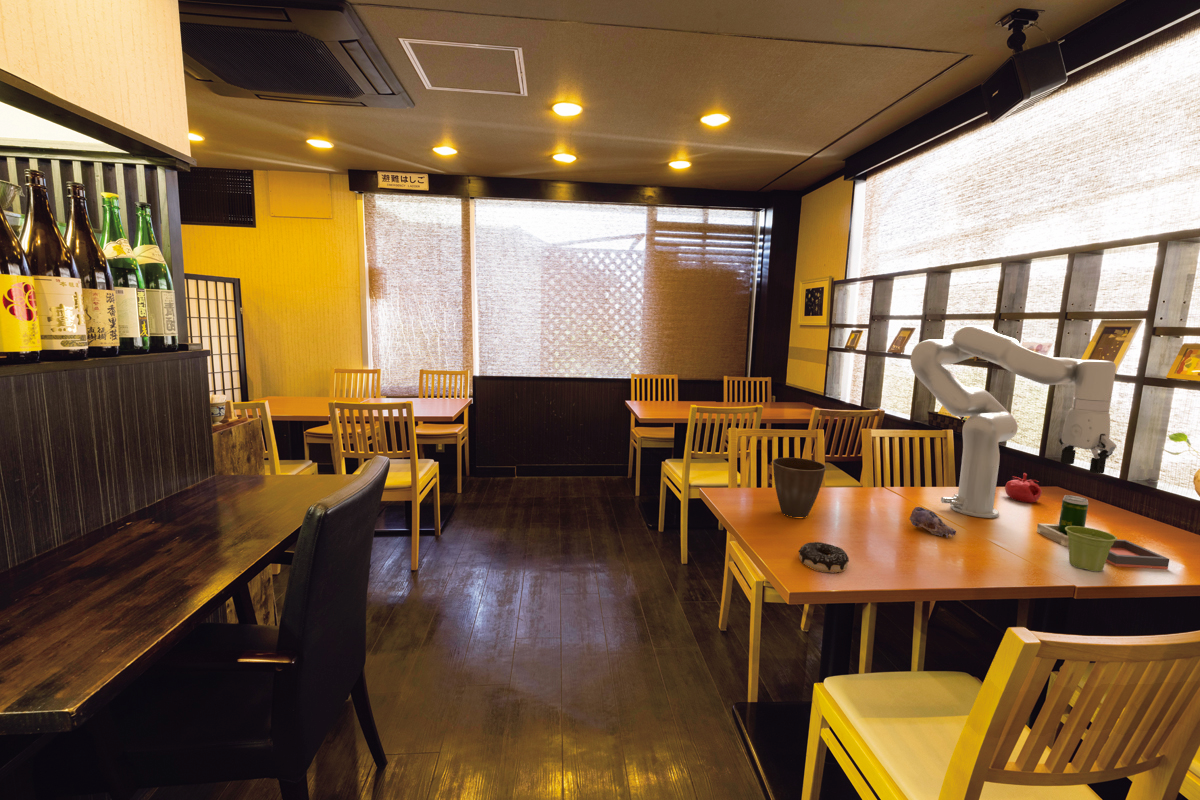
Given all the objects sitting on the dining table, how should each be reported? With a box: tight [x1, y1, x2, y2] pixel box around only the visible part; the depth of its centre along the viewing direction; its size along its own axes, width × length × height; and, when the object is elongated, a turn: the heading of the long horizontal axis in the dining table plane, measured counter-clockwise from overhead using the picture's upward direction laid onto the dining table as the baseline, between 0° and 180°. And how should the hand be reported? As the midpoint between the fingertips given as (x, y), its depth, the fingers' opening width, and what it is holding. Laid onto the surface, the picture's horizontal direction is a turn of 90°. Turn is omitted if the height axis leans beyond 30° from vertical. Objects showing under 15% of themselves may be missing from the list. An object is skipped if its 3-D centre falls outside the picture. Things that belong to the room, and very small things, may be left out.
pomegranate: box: [1004, 472, 1043, 504], centre depth 183 cm, size 10×10×9 cm
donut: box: [798, 541, 850, 574], centre depth 128 cm, size 11×12×4 cm
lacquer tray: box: [1105, 538, 1170, 570], centre depth 137 cm, size 12×12×3 cm
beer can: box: [1058, 494, 1089, 535], centre depth 147 cm, size 5×5×12 cm
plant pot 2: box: [1065, 526, 1118, 572], centre depth 130 cm, size 9×9×9 cm
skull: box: [909, 506, 957, 538], centre depth 151 cm, size 12×8×6 cm, turn 20°
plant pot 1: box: [772, 457, 827, 518], centre depth 161 cm, size 15×15×16 cm
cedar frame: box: [1036, 523, 1069, 547], centre depth 148 cm, size 10×10×2 cm
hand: (1081, 468), depth 146 cm, fingers open, 9 cm apart
